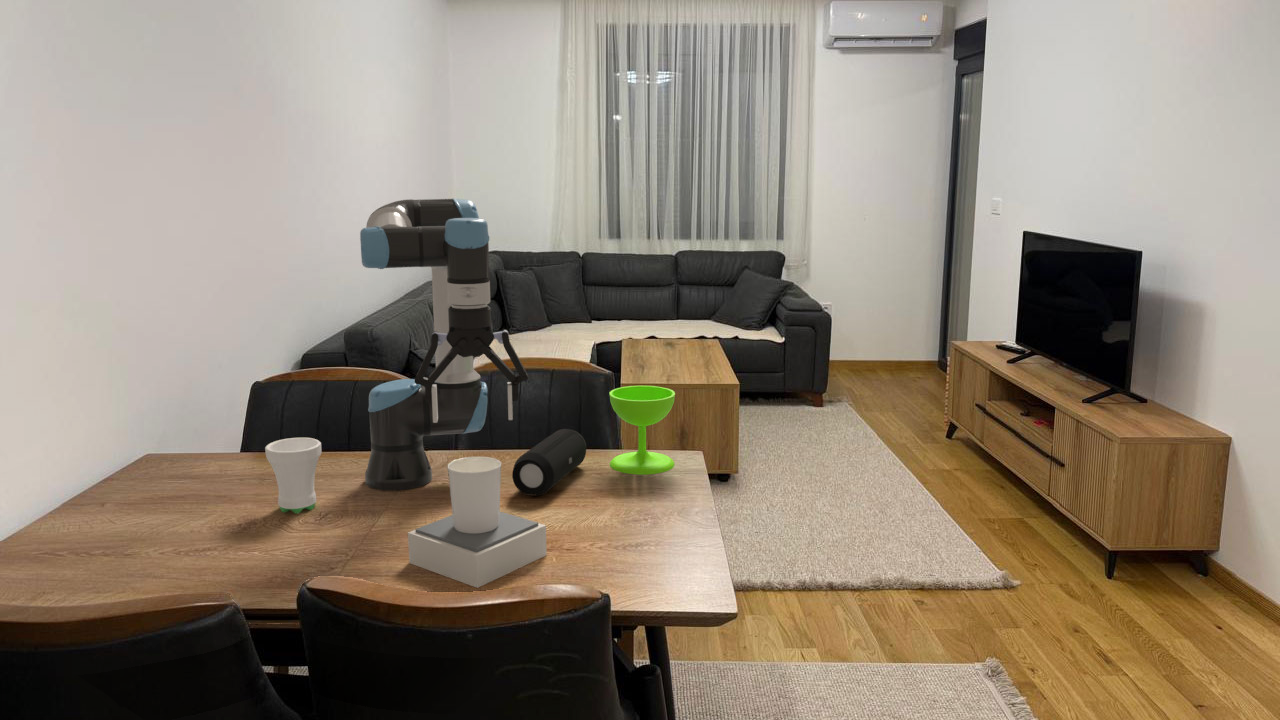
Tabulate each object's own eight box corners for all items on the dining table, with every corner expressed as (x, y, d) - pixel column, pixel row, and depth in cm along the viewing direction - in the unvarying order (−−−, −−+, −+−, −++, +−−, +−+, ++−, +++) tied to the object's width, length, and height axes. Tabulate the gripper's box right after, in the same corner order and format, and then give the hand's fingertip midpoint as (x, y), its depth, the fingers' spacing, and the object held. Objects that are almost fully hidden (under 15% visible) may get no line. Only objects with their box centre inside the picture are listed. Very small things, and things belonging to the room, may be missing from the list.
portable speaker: (550, 501, 215) (549, 458, 213) (508, 497, 218) (507, 454, 216) (589, 467, 239) (589, 427, 237) (551, 463, 242) (551, 424, 240)
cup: (335, 507, 211) (330, 444, 208) (286, 521, 203) (281, 455, 200) (308, 495, 219) (304, 434, 216) (260, 508, 211) (255, 445, 208)
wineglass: (599, 470, 237) (598, 397, 233) (624, 452, 251) (623, 383, 248) (661, 477, 231) (662, 403, 227) (683, 458, 246) (684, 388, 242)
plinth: (409, 563, 182) (407, 529, 181) (479, 533, 197) (478, 502, 195) (477, 587, 172) (476, 552, 171) (546, 555, 186) (545, 522, 185)
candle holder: (452, 517, 187) (450, 457, 185) (504, 515, 188) (502, 455, 186) (447, 536, 178) (444, 473, 175) (501, 534, 178) (499, 471, 176)
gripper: (396, 310, 171) (401, 427, 175) (540, 307, 174) (542, 422, 179) (400, 303, 178) (405, 416, 182) (538, 300, 181) (540, 411, 186)
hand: (473, 419), depth 180 cm, fingers open, 13 cm apart
